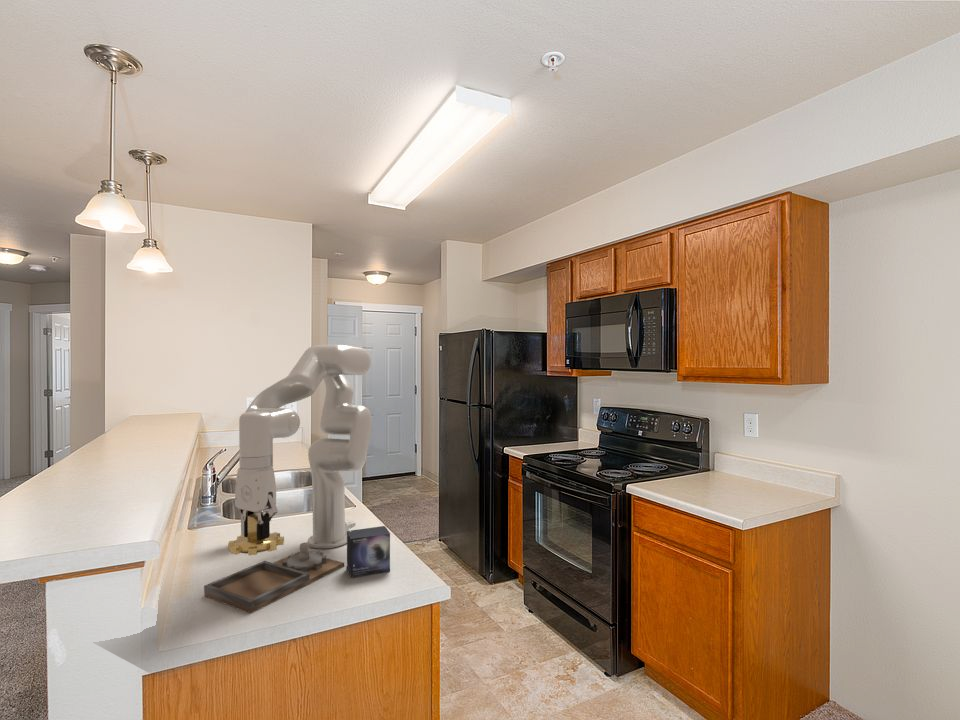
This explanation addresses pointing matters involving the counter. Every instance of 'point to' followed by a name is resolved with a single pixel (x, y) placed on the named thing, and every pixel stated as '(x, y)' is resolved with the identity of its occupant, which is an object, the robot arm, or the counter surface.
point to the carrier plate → (271, 580)
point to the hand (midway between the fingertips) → (256, 536)
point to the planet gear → (254, 540)
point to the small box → (368, 551)
